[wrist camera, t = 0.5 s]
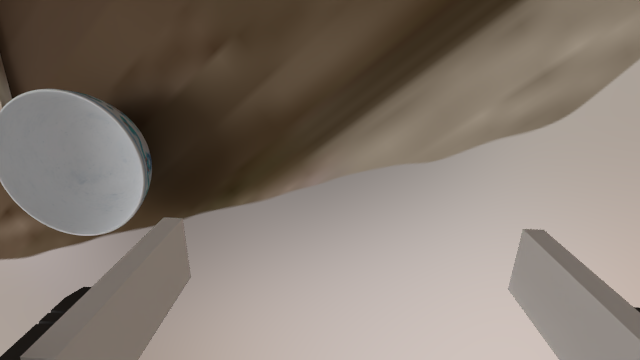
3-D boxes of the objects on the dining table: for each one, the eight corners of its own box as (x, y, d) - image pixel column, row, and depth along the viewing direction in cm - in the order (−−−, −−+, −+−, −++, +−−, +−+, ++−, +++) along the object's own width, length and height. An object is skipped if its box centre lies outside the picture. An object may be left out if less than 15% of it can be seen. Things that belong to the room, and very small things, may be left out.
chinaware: (24, 123, 40) (-44, 138, 33) (121, 56, 37) (70, 57, 30) (109, 224, 45) (65, 257, 37) (202, 172, 42) (174, 197, 34)
